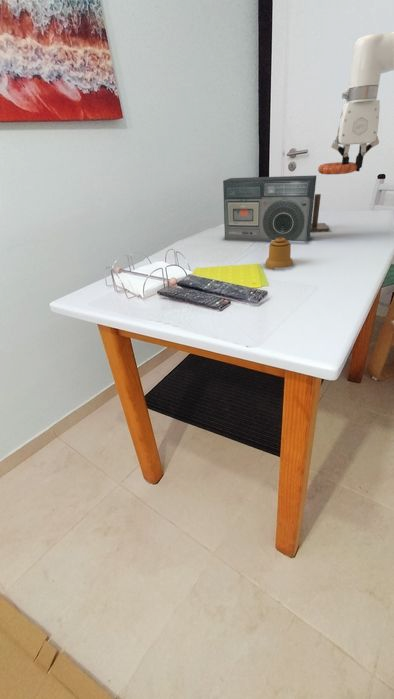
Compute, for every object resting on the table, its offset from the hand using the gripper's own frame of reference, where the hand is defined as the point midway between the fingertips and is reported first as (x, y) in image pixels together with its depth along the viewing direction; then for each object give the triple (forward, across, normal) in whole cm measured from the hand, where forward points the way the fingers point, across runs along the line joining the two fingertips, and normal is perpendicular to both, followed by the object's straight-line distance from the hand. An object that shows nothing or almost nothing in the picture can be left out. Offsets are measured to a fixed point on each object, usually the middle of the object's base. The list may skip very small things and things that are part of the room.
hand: (350, 170), depth 102 cm
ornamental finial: (+21, -22, -24) cm, 39 cm away
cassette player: (+21, -24, +5) cm, 33 cm away
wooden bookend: (+21, -6, +16) cm, 27 cm away
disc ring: (-1, -4, 0) cm, 4 cm away
